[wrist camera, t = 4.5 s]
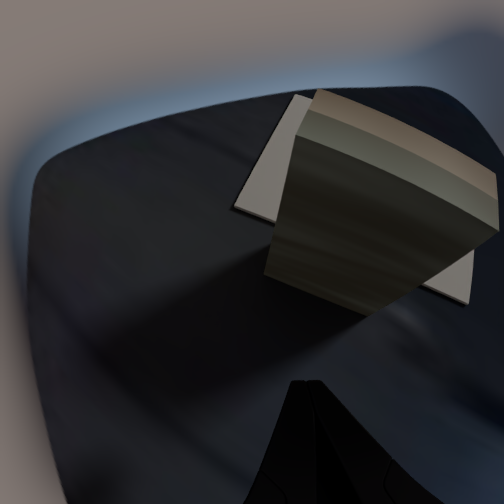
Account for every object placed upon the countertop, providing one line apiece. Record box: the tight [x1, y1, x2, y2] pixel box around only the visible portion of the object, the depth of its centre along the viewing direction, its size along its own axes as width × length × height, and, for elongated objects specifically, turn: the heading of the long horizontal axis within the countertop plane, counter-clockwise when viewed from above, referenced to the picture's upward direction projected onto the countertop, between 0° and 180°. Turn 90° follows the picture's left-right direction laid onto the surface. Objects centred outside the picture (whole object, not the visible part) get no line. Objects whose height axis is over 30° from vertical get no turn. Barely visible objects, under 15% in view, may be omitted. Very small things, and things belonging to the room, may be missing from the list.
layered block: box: [264, 88, 499, 316], centre depth 14 cm, size 2×7×12 cm, turn 67°
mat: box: [234, 94, 474, 305], centre depth 23 cm, size 13×18×1 cm
